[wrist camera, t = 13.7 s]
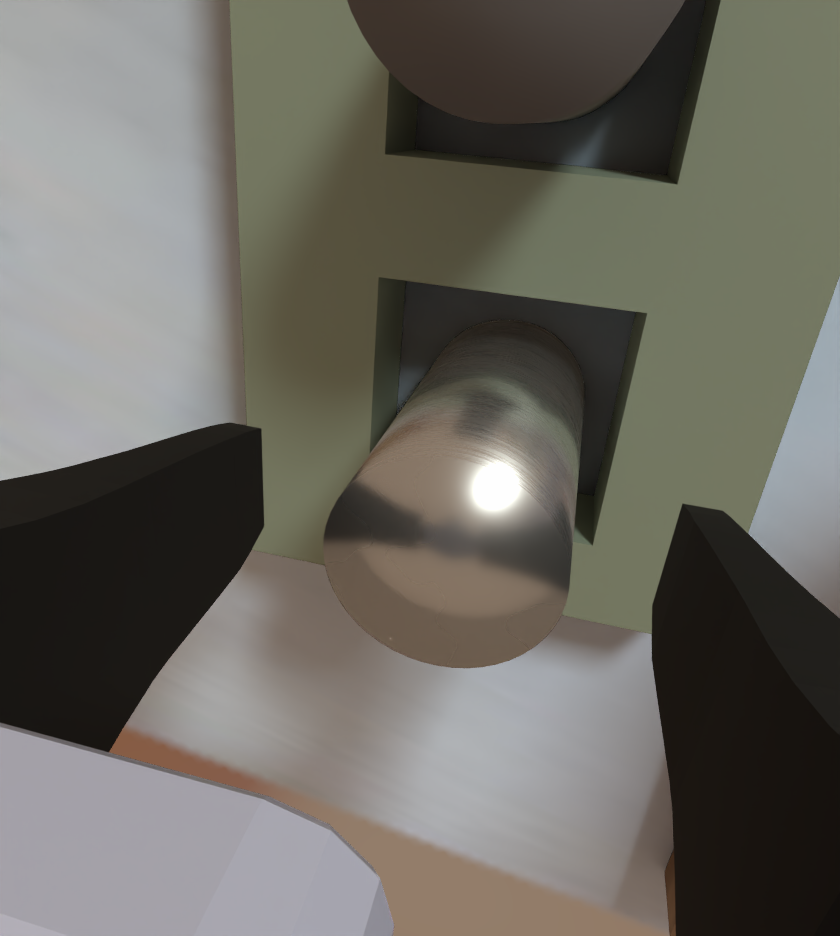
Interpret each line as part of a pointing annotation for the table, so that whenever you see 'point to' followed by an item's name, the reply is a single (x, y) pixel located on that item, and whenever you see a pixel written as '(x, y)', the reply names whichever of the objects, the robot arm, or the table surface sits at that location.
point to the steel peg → (467, 504)
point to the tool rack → (535, 242)
